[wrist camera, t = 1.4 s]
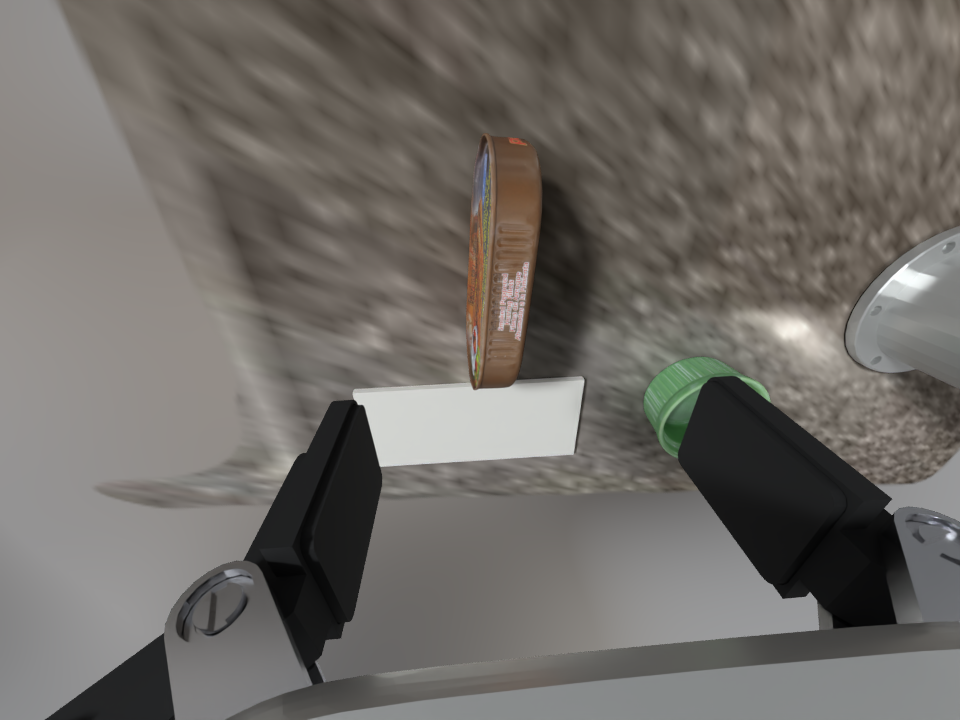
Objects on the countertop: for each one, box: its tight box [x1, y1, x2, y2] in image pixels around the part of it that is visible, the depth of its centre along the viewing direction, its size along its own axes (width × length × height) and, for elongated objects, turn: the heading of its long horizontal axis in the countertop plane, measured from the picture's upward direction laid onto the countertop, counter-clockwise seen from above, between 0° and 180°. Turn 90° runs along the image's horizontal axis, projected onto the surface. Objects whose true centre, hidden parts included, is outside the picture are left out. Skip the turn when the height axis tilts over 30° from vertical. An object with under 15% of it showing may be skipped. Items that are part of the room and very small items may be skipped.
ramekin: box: [643, 357, 771, 458], centre depth 31 cm, size 9×9×4 cm
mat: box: [353, 376, 585, 467], centre depth 32 cm, size 20×9×1 cm, turn 92°
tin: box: [466, 133, 542, 390], centre depth 22 cm, size 15×3×8 cm, turn 176°
